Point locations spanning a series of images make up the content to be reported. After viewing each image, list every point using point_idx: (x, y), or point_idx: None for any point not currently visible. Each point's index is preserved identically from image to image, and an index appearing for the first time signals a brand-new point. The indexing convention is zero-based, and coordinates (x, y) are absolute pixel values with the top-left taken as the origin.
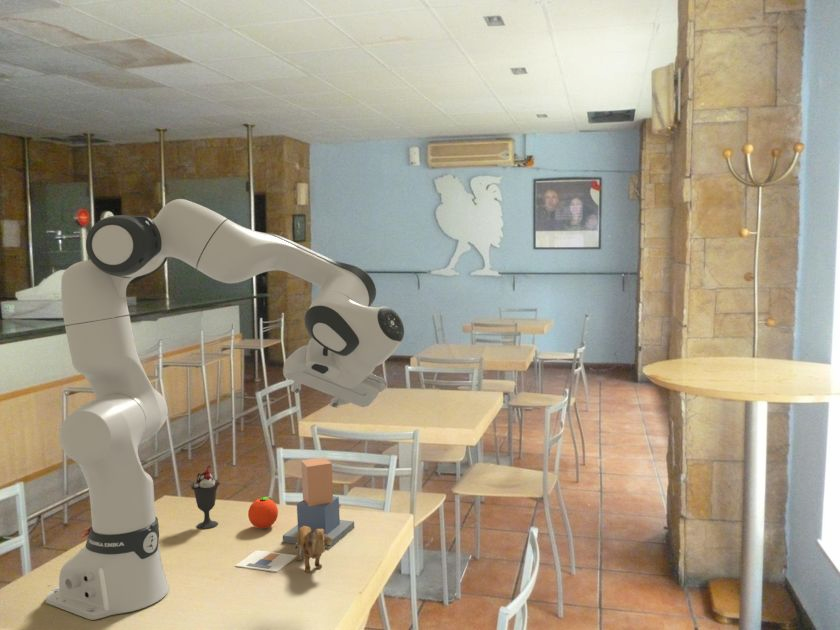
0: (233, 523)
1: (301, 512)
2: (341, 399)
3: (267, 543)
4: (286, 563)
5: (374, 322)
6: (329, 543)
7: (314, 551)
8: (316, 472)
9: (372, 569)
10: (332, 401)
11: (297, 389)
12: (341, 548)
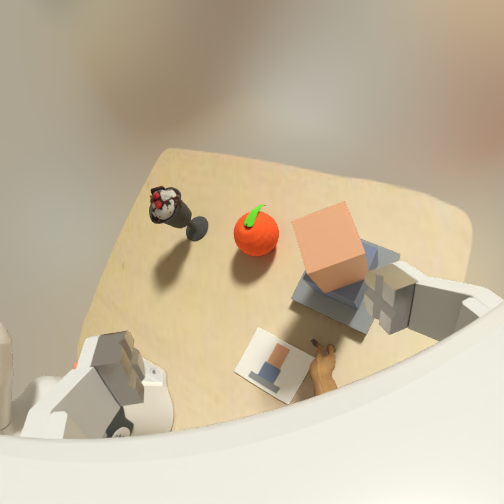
0: (225, 224)
1: (313, 285)
2: (435, 314)
3: (272, 301)
4: (300, 382)
5: None
6: None
7: None
8: (331, 270)
9: None
10: (377, 294)
11: (124, 400)
12: (382, 338)
